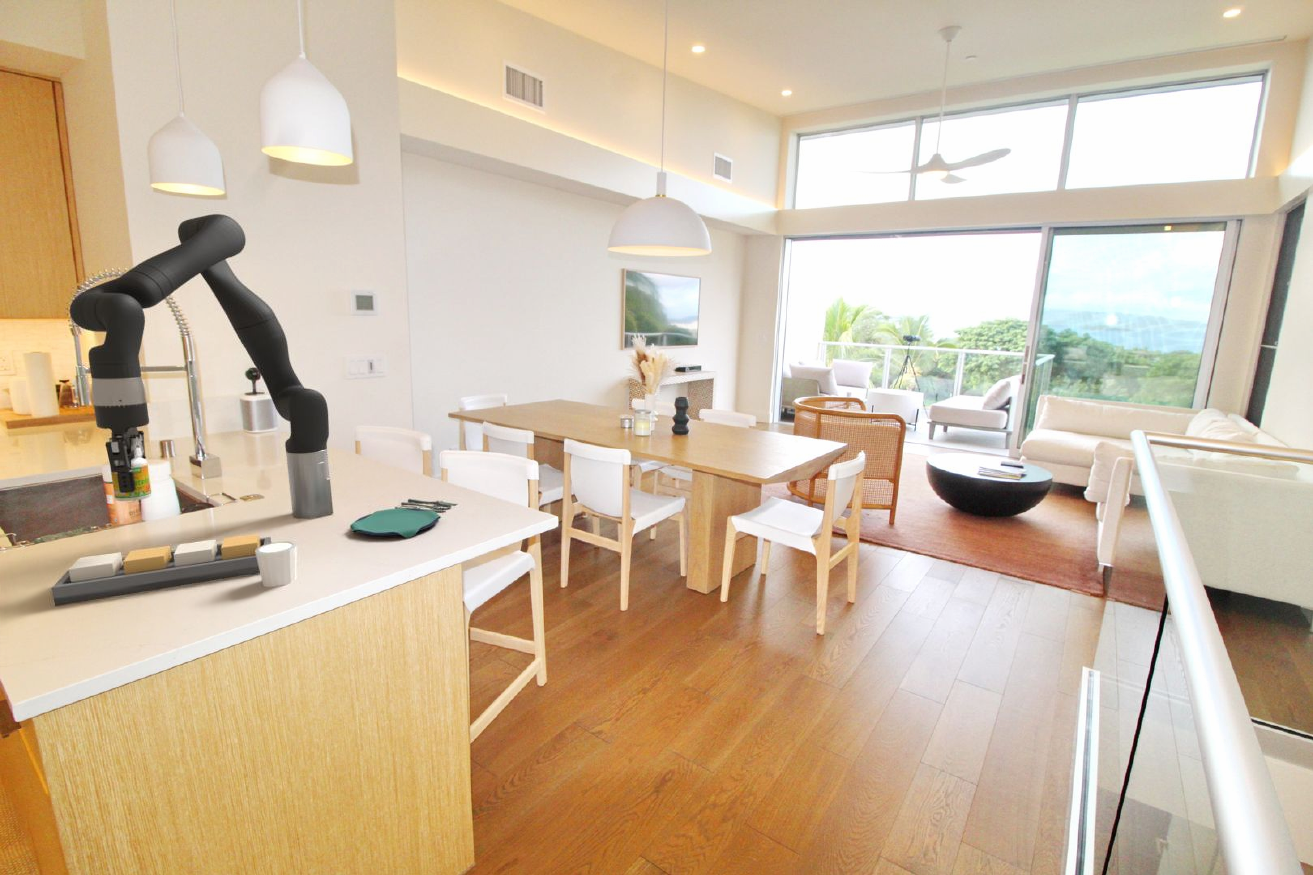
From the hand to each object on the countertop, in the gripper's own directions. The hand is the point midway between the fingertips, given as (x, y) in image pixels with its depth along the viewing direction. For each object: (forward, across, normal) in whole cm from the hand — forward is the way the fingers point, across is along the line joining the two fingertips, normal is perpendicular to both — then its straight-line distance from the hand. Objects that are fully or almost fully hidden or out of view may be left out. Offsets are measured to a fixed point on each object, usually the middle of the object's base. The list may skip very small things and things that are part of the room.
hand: (132, 487), depth 116 cm
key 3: (+15, -3, -2) cm, 15 cm away
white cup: (+18, -15, -24) cm, 33 cm away
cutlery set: (+18, +14, -50) cm, 55 cm away
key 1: (+15, -3, -17) cm, 22 cm away
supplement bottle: (+2, 0, 0) cm, 2 cm away
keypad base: (+18, -3, -5) cm, 19 cm away
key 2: (+15, -3, -9) cm, 18 cm away
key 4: (+15, -4, +6) cm, 16 cm away
